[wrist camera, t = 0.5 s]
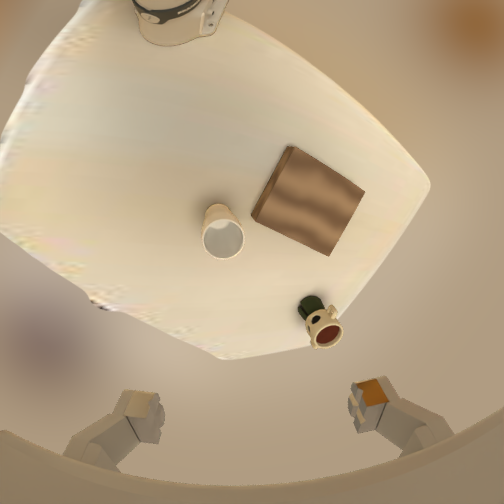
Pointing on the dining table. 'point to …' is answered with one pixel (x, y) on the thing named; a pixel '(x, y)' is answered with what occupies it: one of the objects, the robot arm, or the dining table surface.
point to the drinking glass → (222, 233)
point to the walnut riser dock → (307, 201)
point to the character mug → (320, 323)
